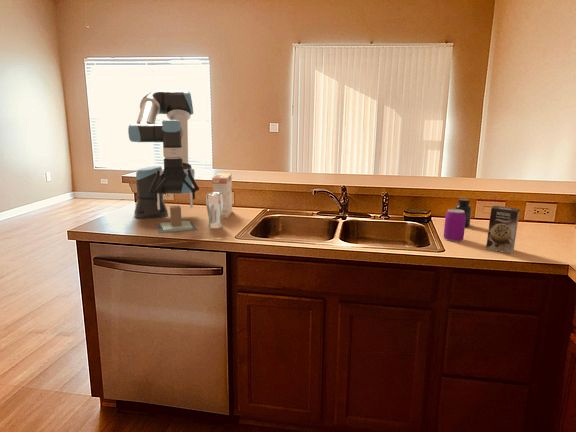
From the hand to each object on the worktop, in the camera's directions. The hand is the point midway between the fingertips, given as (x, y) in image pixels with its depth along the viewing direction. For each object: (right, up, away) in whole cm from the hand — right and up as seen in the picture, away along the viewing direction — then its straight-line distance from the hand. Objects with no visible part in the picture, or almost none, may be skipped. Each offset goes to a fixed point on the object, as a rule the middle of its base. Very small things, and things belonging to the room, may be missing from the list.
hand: (175, 208), depth 186 cm
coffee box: (+128, -16, -21) cm, 131 cm away
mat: (0, -9, +2) cm, 9 cm away
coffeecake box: (+16, -3, +29) cm, 33 cm away
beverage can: (+115, -13, -8) cm, 116 cm away
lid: (0, -8, +2) cm, 9 cm away
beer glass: (+16, -9, +5) cm, 19 cm away
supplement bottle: (+127, -8, +14) cm, 128 cm away
